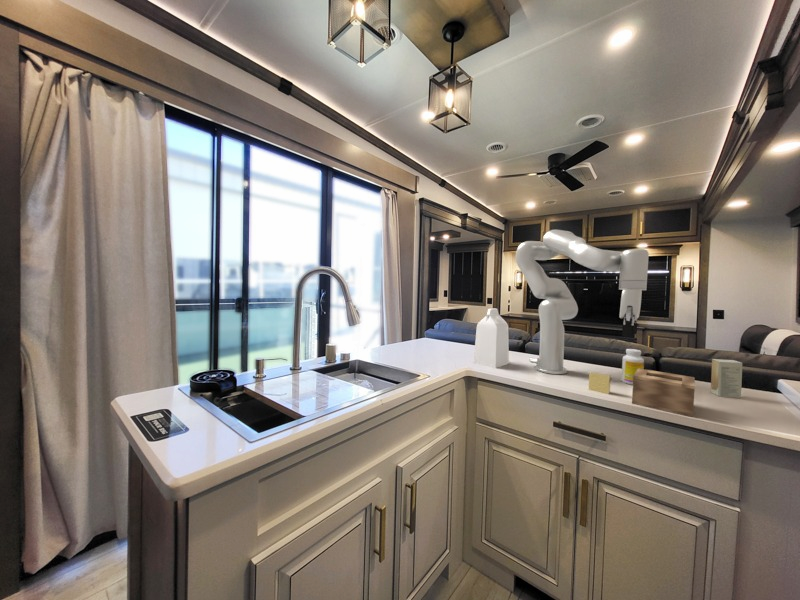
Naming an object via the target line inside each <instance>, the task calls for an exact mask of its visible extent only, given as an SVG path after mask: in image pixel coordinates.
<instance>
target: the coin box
mask: <svg viewBox="0 0 800 600" xmlns="http://www.w3.org/2000/svg"><path fill="white" fill-rule="evenodd" d="M695 379H696V378H695V377H694V376H688V375H684V374H683V375H682V374H676V373H671V372H662V371H657V370H652V369H646V368H645V369H639V368H638V370H637V371H636V372H635V374H634V375H633V385H632V396H631V397H632V398H631V404H632V405H636V406H640V407H641V406H642V407H646V408H651V409H655V410H659V411H660V410H661V411H664V412H669V413H673V414H677V415H681V416H685V417H691V418H693V417H694V405H695V391H696V390H695V388H696V382H695V381H696V380H695Z"/></svg>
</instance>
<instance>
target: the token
mask: <svg viewBox="0 0 800 600" xmlns="http://www.w3.org/2000/svg"><path fill="white" fill-rule="evenodd" d="M588 376H589V377H588V390H589V391H593V392H597V393H601V394H606V395H607V394H608V395H609V394H610V393H611V383H612V382H611V381H612V380H611V379H612V377H611V375H609V374H604V373H600V372H593V371H591V372H589V375H588Z"/></svg>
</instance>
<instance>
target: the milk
mask: <svg viewBox="0 0 800 600" xmlns="http://www.w3.org/2000/svg"><path fill="white" fill-rule="evenodd" d="M475 330H476V331H475V332H476V333H475V342H474V353H473V364H475V365H480V366H484V367H489V368H493V369H498V368H500V367H504V366H506V365H509V363H510V357H509V356H510V355H509V354H510V353H509V351H510V350H509V348H510V347H509V344H510V342H509V324H508V323H507V321H506V320H505V319H504V318H503V317H502V316H501V314H500V313H499V310H498V308H488V309H487V313H486V315H485V316H484V317H483V318H482V319H480V321H478V322H477V325H476V328H475Z"/></svg>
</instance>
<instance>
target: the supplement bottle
mask: <svg viewBox="0 0 800 600" xmlns="http://www.w3.org/2000/svg"><path fill="white" fill-rule="evenodd" d="M625 353H626V355H623V356H622V363H621V381H622V383H625V384H627V385H631V386H633V375H634V374H635V372H636V371H637V370H638V368H639V369H644V368H645V359H644V357H642V355H641V354H642V350H640V349H635V348H626V349H625Z"/></svg>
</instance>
